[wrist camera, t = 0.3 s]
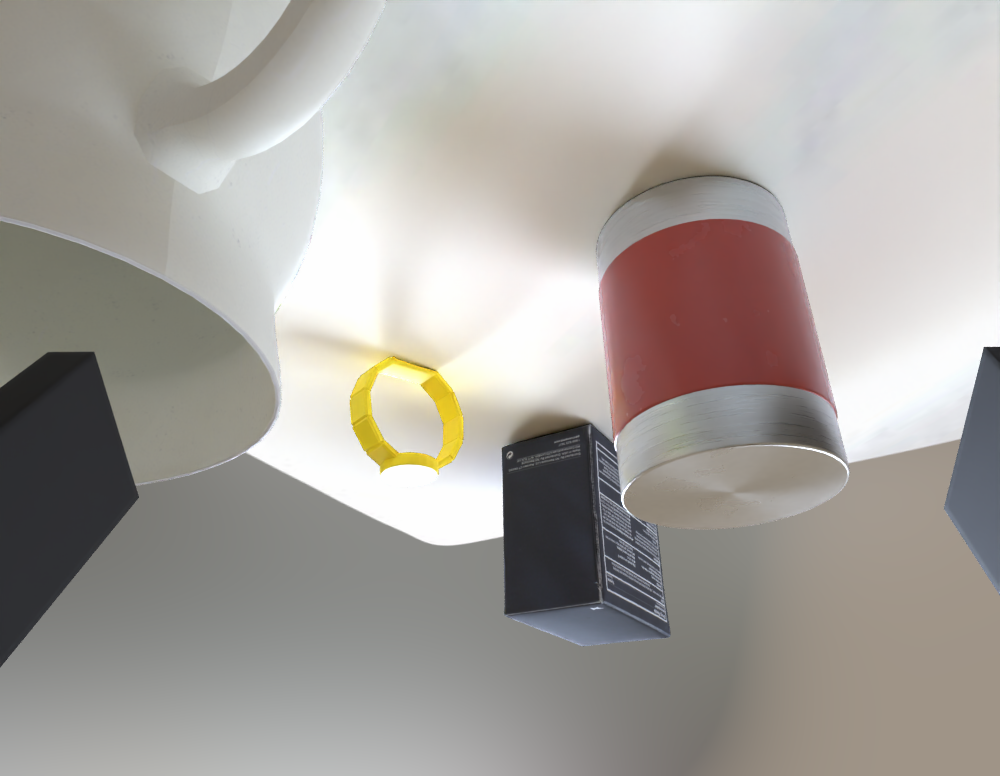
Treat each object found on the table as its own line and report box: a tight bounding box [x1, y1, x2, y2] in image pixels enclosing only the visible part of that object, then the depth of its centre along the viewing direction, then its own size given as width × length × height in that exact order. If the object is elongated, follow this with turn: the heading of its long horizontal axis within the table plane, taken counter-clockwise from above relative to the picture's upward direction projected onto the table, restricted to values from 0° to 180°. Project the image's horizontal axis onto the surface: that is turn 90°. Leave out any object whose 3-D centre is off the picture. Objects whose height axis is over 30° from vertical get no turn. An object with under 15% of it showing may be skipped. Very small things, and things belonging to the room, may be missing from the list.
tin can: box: [596, 176, 850, 529], centre depth 31 cm, size 8×8×11 cm
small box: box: [502, 424, 670, 646], centre depth 50 cm, size 11×6×10 cm, turn 30°
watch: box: [350, 356, 463, 487], centre depth 40 cm, size 6×3×6 cm, turn 49°
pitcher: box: [0, 0, 387, 486], centre depth 19 cm, size 11×18×14 cm, turn 127°
